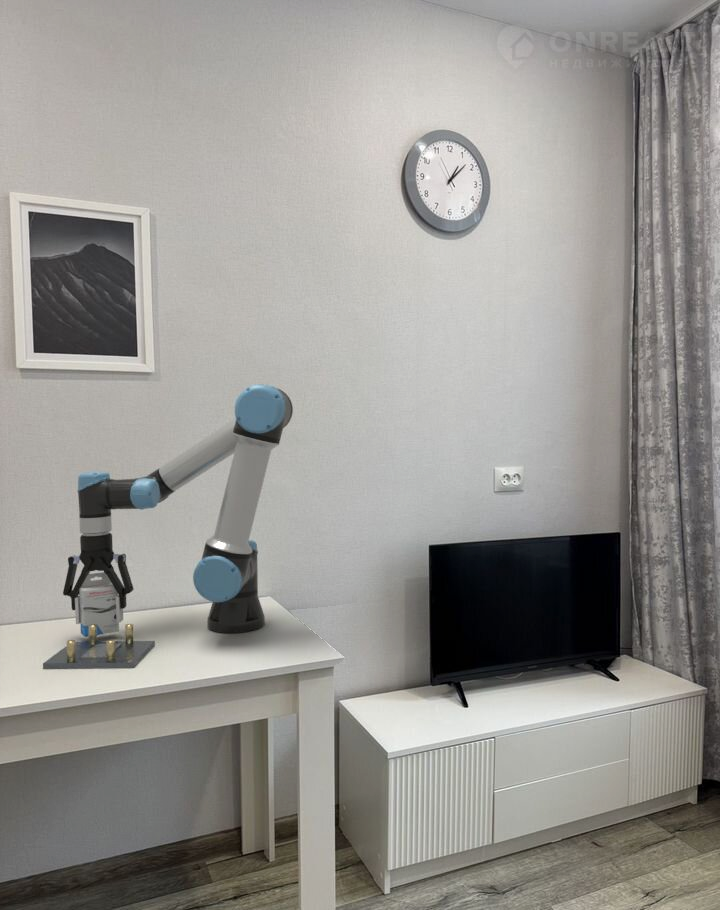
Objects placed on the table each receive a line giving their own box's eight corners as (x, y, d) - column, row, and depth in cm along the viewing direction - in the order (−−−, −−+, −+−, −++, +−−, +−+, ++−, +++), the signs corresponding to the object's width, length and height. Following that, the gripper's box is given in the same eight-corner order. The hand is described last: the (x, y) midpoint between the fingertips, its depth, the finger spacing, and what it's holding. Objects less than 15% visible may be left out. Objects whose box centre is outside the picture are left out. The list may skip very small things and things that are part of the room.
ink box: (84, 637, 170) (82, 578, 169) (80, 633, 174) (77, 575, 174) (120, 631, 175) (117, 573, 174) (115, 627, 179) (112, 570, 178)
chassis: (154, 645, 169) (154, 622, 168) (134, 667, 153) (133, 642, 152) (72, 646, 168) (71, 623, 168) (43, 668, 152) (42, 643, 152)
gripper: (144, 530, 177) (148, 616, 178) (58, 532, 177) (62, 619, 178) (135, 534, 170) (139, 624, 171) (45, 537, 170) (49, 627, 170)
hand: (99, 621), depth 174 cm, fingers closed on ink box, 9 cm apart
